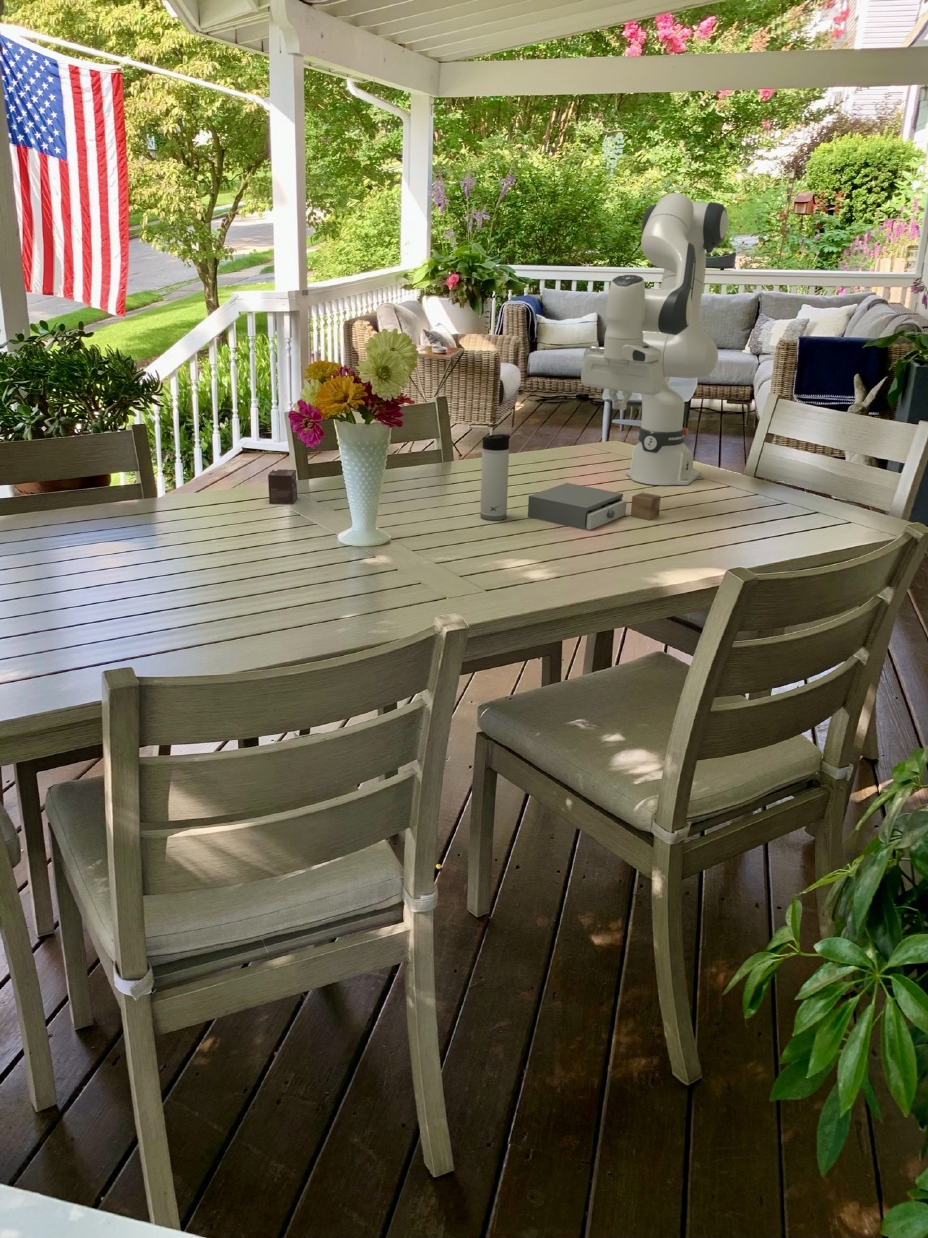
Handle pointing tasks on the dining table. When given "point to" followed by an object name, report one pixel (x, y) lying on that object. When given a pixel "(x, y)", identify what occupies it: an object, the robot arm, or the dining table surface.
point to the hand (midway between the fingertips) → (619, 409)
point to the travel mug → (494, 477)
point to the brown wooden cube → (645, 506)
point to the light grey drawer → (606, 514)
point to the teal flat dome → (594, 509)
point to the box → (282, 486)
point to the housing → (569, 504)
